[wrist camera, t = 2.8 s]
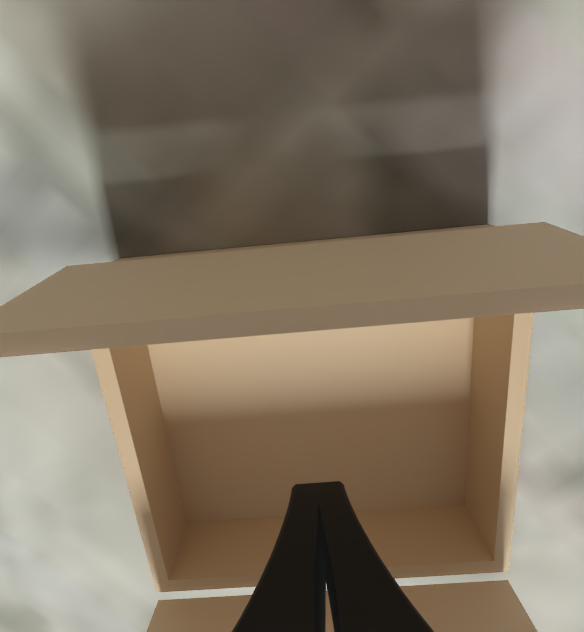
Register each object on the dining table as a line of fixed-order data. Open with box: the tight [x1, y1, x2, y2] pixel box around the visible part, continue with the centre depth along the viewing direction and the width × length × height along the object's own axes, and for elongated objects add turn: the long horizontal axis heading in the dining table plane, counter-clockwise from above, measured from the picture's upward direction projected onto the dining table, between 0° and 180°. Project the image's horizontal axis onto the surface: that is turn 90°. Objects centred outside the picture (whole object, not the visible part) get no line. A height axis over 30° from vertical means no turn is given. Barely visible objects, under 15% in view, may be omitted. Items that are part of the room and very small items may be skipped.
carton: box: [91, 224, 534, 592], centre depth 16 cm, size 14×13×4 cm
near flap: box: [0, 222, 584, 357], centre depth 10 cm, size 14×4×1 cm
